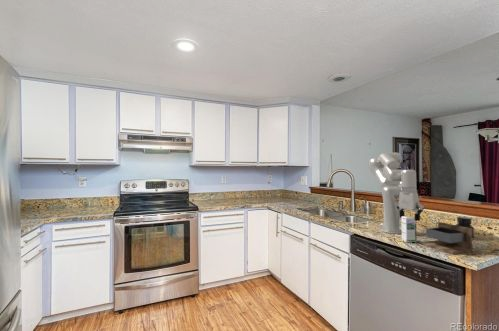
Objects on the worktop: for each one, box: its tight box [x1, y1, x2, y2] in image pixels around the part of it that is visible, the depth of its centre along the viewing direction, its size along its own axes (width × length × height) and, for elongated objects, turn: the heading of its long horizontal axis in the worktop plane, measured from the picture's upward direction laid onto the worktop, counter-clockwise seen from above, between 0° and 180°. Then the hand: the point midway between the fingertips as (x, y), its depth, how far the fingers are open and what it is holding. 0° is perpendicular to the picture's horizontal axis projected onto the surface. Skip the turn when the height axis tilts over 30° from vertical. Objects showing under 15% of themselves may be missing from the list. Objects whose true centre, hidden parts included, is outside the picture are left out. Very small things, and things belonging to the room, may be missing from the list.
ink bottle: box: [455, 216, 475, 239], centre depth 152 cm, size 10×9×12 cm
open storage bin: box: [425, 227, 466, 243], centre depth 129 cm, size 12×12×4 cm
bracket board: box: [420, 221, 473, 255], centre depth 129 cm, size 16×15×12 cm
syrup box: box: [400, 215, 418, 244], centre depth 141 cm, size 6×6×14 cm
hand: (409, 219), depth 140 cm, fingers open, 9 cm apart
